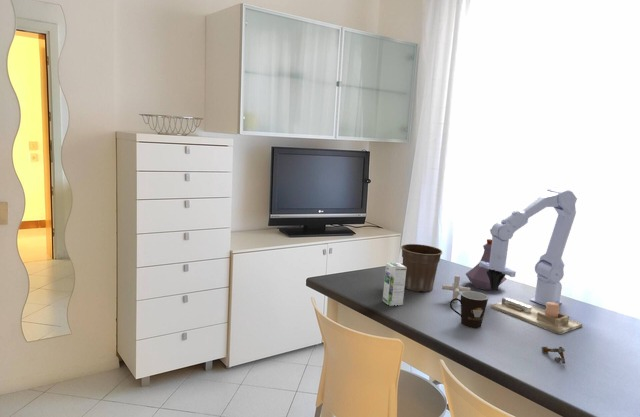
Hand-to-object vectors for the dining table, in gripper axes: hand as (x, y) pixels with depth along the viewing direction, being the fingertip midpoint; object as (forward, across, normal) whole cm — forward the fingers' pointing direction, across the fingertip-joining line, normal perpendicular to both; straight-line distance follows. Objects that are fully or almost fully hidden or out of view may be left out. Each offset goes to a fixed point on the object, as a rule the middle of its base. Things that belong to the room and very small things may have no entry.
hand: (494, 289), depth 178 cm
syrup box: (+5, -16, -37) cm, 40 cm away
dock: (+5, +16, +1) cm, 17 cm away
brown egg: (+4, +23, 0) cm, 23 cm away
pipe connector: (+5, -6, -14) cm, 16 cm away
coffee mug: (+5, +10, -27) cm, 29 cm away
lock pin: (+4, +10, 0) cm, 10 cm away
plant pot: (+5, -24, -15) cm, 29 cm away
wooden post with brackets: (+5, +38, -24) cm, 45 cm away
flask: (+5, -14, +13) cm, 19 cm away
